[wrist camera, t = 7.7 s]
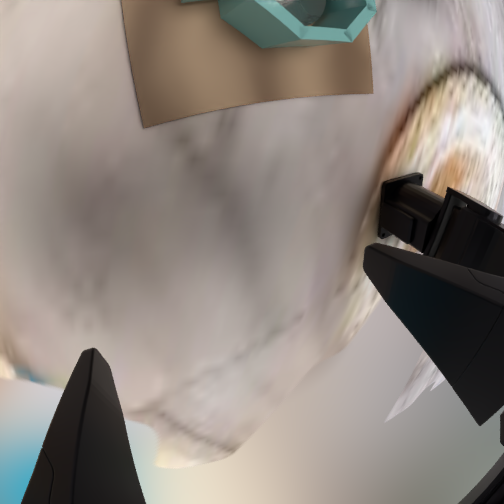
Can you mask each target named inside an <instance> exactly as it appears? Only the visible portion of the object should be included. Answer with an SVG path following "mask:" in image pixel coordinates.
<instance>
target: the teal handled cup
mask: <svg viewBox="0 0 504 504" xmlns="http://www.w3.org/2000/svg"><path fill="white" fill-rule="evenodd" d="M194 1H204V0H181V3H186V2H194ZM218 5H219V11H220V17H221V19H223V20H224V21H226V22H227V23H228V24H230V25H231V26H233V27H234V28H236V29H237V30H238V31H240V32H241V33H242V34H244V35H245V36H246V37H248V38H249V39H250V40H252V41H253V42H254V43H256V44H257V45H258V46H259V47H261V48H285V47H313V46H321V45H329V44H339V43H350V42H353V40H354V39H355V38H356V37H357V35H358V34H359V33H360V32H361V30H362V29H363V28H364V27H365V25H366V24H367V23H368V22H369V21H370V19H371V18H372V17H373V16H374V14H375V13H376V12H377V11H376V5H375V0H338V1H331V0H326V5H325V9H324V11H323V13H322V15H321V16H320V18H319V19H317V20H316V21H315V23H314V24H313V25H312V26H304V25H303V24H302V23H301V22H300V21H299V20H298V19H296V18H295V17H294V16H293V15H292V14H291V13H290V12H288V11H287V10H286V9H285V8H284V7H283V6H281V5H280V4H279V3H278V2H277V1H275V0H218Z"/></svg>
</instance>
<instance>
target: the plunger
mask: <svg viewBox="0 0 504 504" xmlns="http://www.w3.org/2000/svg"><path fill="white" fill-rule="evenodd" d="M275 1H277V2H278V3H279V4H280V5H281V6H283V7H284V8H285V9H286V10H287V11H288V12H290V13H291V14H292V15H293V16H294V17H295V18H296V19H298V20H299V21H300V22H301V23H302V24H303V25H304V26H307V25H310V24H312V23H314V22H315V21H316V20H317V19H319V18H320V16H321V15H322V13H323V11H324V9H325V5H326V0H275ZM331 1H338V0H331Z"/></svg>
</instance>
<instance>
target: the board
mask: <svg viewBox="0 0 504 504" xmlns="http://www.w3.org/2000/svg"><path fill="white" fill-rule="evenodd" d="M121 1H122V9H123V17H124V24H125V31H126V38H127V44H128V50H129V56H130V62H131V67H132V73H133V78H134V83H135V88H136V93H137V98H138V103H139V108H140V112H141V117H142V121H143V126H144V128H147V127H150V126H154V125H157V124H161V123H164V122H168V121H172V120H176V119H180V118H184V117H188V116H192V115H196V114H201V113H205V112H210V111H215V110H219V109H224V108H230V107H235V106H241V105H247V104H253V103H259V102H266V101H273V100H281V99H290V98H299V97H310V96H323V95H339V94H373V78H372V64H371V53H370V43H369V34H368V26H367V24H366V25H365V27H364V28H363V29H362V30H361V32H360V33H359V34H358V35H357V37H356V38H355V39H354V40H353V42H350V43H339V44H329V45H321V46H313V47H285V48H261V47H259V46H258V45H257V44H256V43H254V42H253V41H252V40H250V39H249V38H248V37H246V36H245V35H244V34H242V33H241V32H240V31H238V30H237V29H236V28H234V27H233V26H231V25H230V24H228V23H227V22H226V21H224V20H223V19H221V17H220V11H219V5H218V0H204V1H194V2H186V3H181V0H121ZM314 23H315V22H314ZM314 23H312V24H310V25H307V26H312V25H313V24H314Z"/></svg>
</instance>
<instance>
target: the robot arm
mask: <svg viewBox="0 0 504 504" xmlns="http://www.w3.org/2000/svg"><path fill="white" fill-rule="evenodd" d="M422 182H423V174H421V173H415V174H411V175H407V176H404V177H400V178H396V179H392V180H389V181H386V182H384V183H383V185H382V196H381V208H380V219H379V228H378V237H379V238H380V239H384V238H386V237H388V236H391V235H394V236H396V237H397V238H399V239H400V240H401V241H403V242H404V243H406V244H410V245H411V246H412V247H414V248H415V249H417V250H418V251H420V252H421V253H423V255H421V254H417V253H414V252H410V251H406V250H403V249H399V248H395V247H391V246H388V245H384V244H380V243H373V244H370V245H368V246H367V247H366V248H365V251H364V260H363V269H364V272H365V273H366V275H367V276H368V278H369V279H370V280H371V282H372V283H373V285H374V286H375V287H376V289H377V290H378V292H379V293H380V295H381V296H382V298H383V299H384V300H385V302H386V303H387V305H388V306H389V307H390V308H391V310H392V311H393V312H394V313H395V314H396V316H397V317H398V318H399V319H400V320H401V322H402V323H403V324H404V325H405V327H406V328H407V329H408V330H409V331H410V333H411V334H412V335H413V336H414V338H415V339H416V340H417V342H418V343H419V344H420V345H421V347H422V348H423V349H424V350H425V352H426V353H427V354H428V356H429V357H430V358H431V360H432V361H433V362H434V363H435V365H436V366H437V367H438V369H439V370H440V371H441V373H442V374H443V375H444V377H445V378H446V379H447V381H448V382H449V384H450V385H451V386H452V388H453V389H454V391H455V392H456V394H457V395H458V396H459V398H460V399H461V401H462V402H463V403H464V405H465V406H466V408H467V409H468V411H469V412H470V414H471V415H472V416H473V418H474V419H475V421H476V423H477V424H478V425H479V426H481V425H482V424H483V423H485V422H486V421H487V420H488V419H489V418H490V417H491V416H493V415H494V413H496V412H497V411H498V410H499V409H500V408H501V407H502V406H503V405H504V224H502V223H501V221H502V218H503V216H502V215H501V214H499V213H498V212H496V211H495V210H493V209H492V208H490V207H489V206H487V205H486V204H484V203H482V202H481V201H479V200H477V199H475V198H473V197H471V196H469V195H467V194H465V193H463V192H460V191H458V190H455V189H453V188H450V187H447V190H446V192H447V193H446V196H445V198H443V197H441V196H440V195H438V194H436V193H434V192H432V191H430V190H428V189H426V188H424V187H422ZM466 205H467V206H466ZM500 442H501V444H502V445H503V446H504V411H503V412H502V414H501V415H500ZM42 447H43V448H42V449H41V451H40V453H39V456H38V459H37V462H36V465H35V468H34V471H33V474H32V476H31V479H30V481H29V484H28V486H27V489H26V492H25V494H24V497H23V499H22V502H21V504H146V502H145V499H144V496H143V493H142V489H141V486H140V483H139V480H138V476H137V472H136V469H135V465H134V461H133V457H132V453H131V449H130V445H129V440H128V436H127V431H126V426H125V421H124V417H123V412H122V409H121V405H120V402H119V398H118V395H117V391H116V387H115V384H114V380H113V376H112V372H111V369H110V366H109V364H108V363H107V362H106V360H105V359H104V358H103V356H102V355H101V354H100V352H99V351H98V350H97V349H96V348H90V349H87V350H84V351H83V352H82V353H81V356H80V358H79V360H78V362H77V364H76V366H75V368H74V370H73V372H72V374H71V377H70V379H69V381H68V383H67V385H66V388H65V390H64V392H63V395H62V397H61V399H60V402H59V404H58V406H57V409H56V411H55V414H54V416H53V419H52V421H51V424H50V426H49V429H48V431H47V434H46V437H45V440H44V442H43V445H42ZM458 504H504V453H503V455H502V456H501V457H500V458H499V460H498V461H497V462H496V463H495V465H494V466H493V467H492V468H491V469H490V470H489V472H488V473H487V474H486V475H485V476H484V477H483V478H482V480H481V481H480V482H479V483H478V484H477V485H476V486H475V487H474V488H473V489H472V490H471V491H470V492H469V493H468V494H467V496H465V497H464V498H463V499H462V500H461V501H460V502H459V503H458Z"/></svg>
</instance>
